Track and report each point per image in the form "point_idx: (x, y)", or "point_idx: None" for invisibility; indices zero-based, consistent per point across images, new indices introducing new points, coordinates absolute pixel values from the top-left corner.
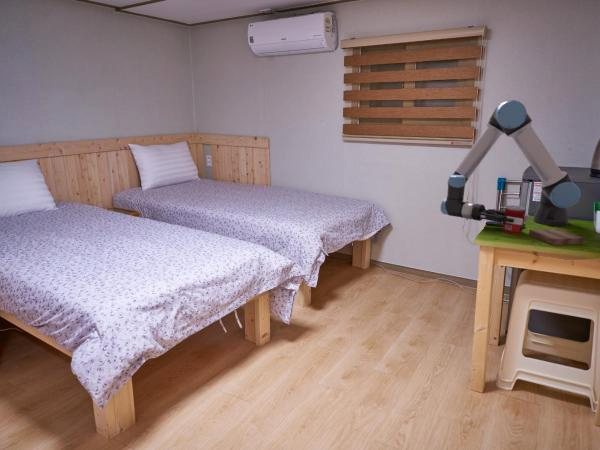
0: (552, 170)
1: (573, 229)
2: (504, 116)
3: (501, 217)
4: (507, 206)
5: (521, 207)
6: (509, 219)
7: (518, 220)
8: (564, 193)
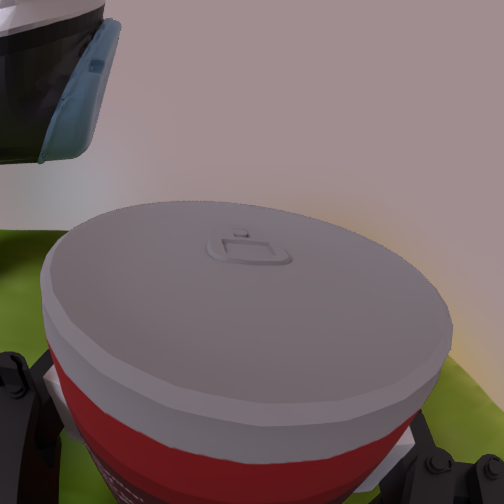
0: None
1: (30, 251)
2: None
3: (499, 461)
4: (235, 379)
5: (151, 216)
6: (418, 415)
7: None
8: (106, 73)
